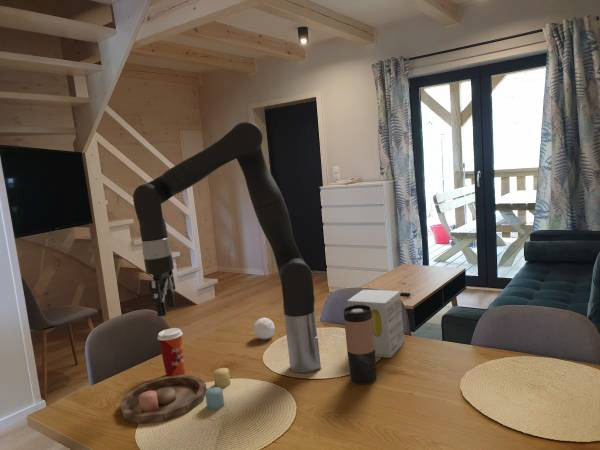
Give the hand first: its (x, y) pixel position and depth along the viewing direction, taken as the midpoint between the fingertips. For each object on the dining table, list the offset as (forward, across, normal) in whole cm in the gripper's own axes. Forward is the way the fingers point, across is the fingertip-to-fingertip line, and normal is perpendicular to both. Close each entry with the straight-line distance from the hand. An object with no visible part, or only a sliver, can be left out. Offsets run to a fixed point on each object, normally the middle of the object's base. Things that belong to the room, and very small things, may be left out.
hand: (166, 311), depth 127 cm
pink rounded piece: (+23, -13, +4) cm, 27 cm away
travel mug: (+25, -4, -53) cm, 59 cm away
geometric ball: (+25, +35, -22) cm, 48 cm away
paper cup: (+24, +12, +4) cm, 27 cm away
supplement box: (+25, +16, -60) cm, 67 cm away
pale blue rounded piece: (+24, -13, -13) cm, 30 cm away
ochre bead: (+24, -1, -13) cm, 27 cm away
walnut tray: (+24, -7, +2) cm, 25 cm away
